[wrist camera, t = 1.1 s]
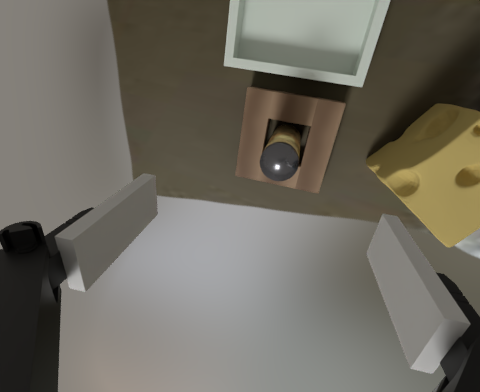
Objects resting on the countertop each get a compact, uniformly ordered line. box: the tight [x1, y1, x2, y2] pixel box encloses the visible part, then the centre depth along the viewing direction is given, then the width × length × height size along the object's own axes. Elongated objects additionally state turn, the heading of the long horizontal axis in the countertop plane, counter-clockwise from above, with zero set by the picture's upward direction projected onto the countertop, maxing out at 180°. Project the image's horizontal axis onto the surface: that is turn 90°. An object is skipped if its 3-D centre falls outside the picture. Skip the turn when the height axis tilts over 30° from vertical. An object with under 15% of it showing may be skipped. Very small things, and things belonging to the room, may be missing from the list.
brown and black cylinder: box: [260, 125, 301, 181], centre depth 32 cm, size 4×4×11 cm
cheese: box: [366, 103, 480, 247], centre depth 29 cm, size 10×11×10 cm
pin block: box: [235, 86, 346, 193], centre depth 35 cm, size 12×12×2 cm
